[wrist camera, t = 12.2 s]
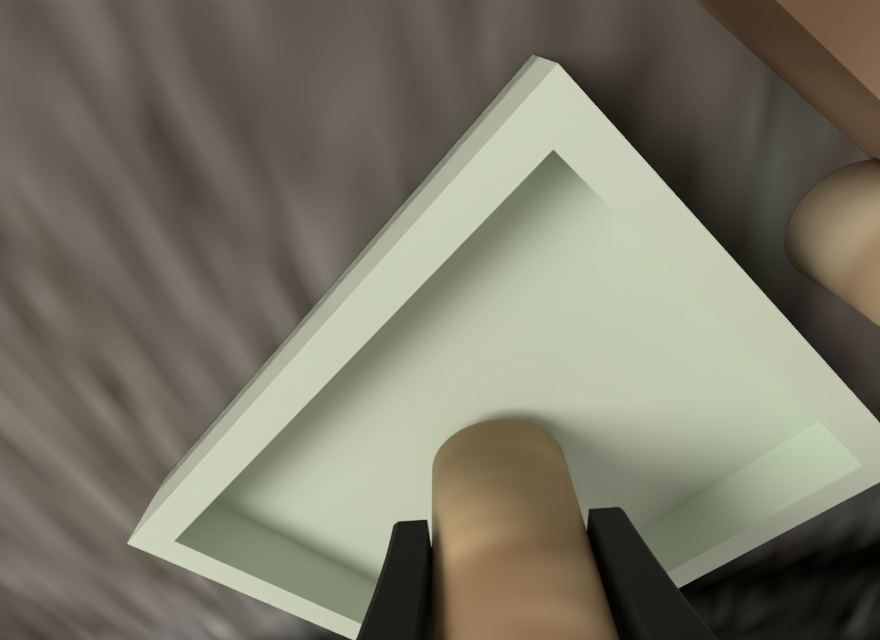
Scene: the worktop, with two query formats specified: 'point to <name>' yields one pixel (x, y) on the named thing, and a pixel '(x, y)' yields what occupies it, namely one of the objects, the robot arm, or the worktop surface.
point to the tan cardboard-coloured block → (818, 55)
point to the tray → (519, 374)
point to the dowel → (511, 541)
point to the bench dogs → (841, 236)
